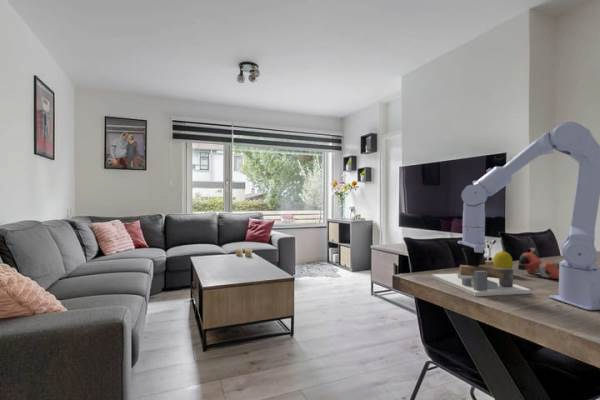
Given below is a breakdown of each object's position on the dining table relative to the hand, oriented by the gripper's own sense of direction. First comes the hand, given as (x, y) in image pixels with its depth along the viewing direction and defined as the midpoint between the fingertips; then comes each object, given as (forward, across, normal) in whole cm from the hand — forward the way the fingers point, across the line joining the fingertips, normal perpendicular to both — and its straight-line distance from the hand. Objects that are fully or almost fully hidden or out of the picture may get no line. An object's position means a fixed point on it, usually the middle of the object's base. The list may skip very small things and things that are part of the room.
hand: (472, 273), depth 92 cm
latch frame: (+3, -1, +1) cm, 4 cm away
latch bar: (+2, +2, +3) cm, 4 cm away
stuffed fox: (+4, -20, +25) cm, 32 cm away
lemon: (+4, -19, +13) cm, 23 cm away
